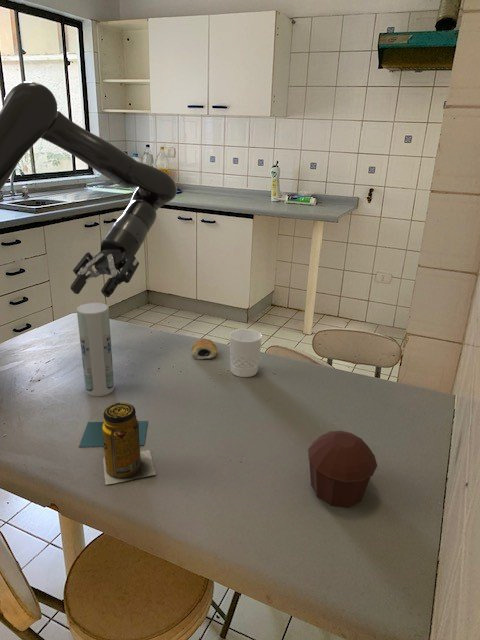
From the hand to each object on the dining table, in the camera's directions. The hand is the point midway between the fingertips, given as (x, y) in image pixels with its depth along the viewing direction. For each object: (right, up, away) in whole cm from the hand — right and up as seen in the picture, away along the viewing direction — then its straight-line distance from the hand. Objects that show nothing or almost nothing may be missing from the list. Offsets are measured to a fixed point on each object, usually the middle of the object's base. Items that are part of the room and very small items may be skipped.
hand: (88, 293), depth 96 cm
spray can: (-1, -22, +10) cm, 24 cm away
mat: (+7, -28, -5) cm, 29 cm away
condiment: (+12, -32, -14) cm, 37 cm away
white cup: (+32, -19, +21) cm, 43 cm away
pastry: (+22, -15, +29) cm, 39 cm away
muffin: (+48, -35, -17) cm, 62 cm away
